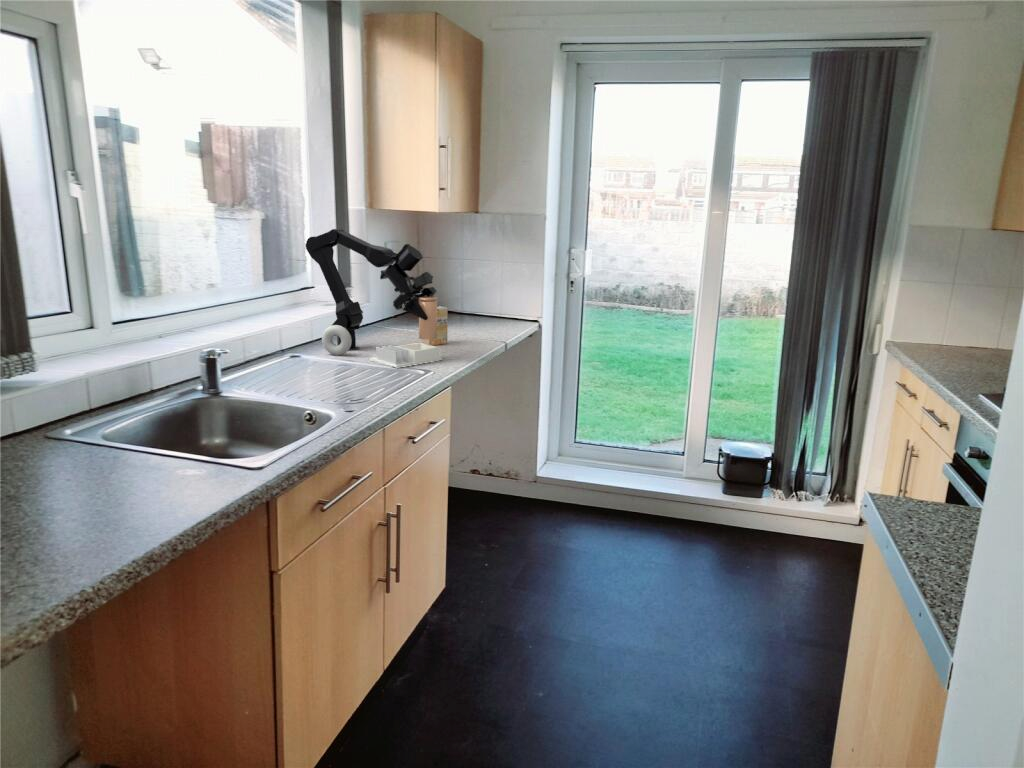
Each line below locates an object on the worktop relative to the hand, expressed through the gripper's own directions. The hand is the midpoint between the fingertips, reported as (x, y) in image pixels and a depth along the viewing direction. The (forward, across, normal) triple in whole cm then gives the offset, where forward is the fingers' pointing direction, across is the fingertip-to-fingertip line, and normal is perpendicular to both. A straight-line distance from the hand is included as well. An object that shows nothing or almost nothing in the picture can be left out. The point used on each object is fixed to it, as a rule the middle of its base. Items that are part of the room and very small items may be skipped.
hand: (431, 318), depth 228 cm
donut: (-11, -10, +31) cm, 34 cm away
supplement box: (+2, +21, +17) cm, 27 cm away
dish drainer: (+6, -7, +13) cm, 16 cm away
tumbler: (+4, 0, +6) cm, 7 cm away
